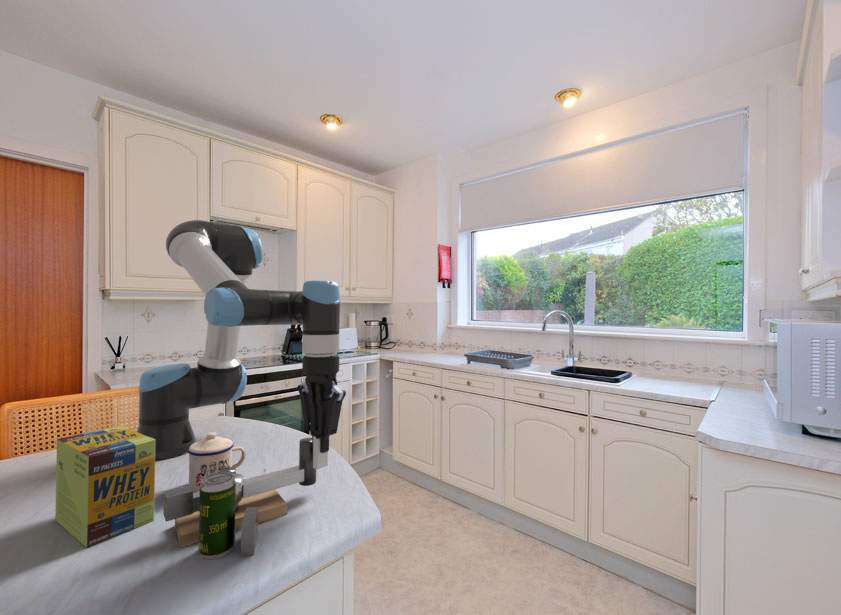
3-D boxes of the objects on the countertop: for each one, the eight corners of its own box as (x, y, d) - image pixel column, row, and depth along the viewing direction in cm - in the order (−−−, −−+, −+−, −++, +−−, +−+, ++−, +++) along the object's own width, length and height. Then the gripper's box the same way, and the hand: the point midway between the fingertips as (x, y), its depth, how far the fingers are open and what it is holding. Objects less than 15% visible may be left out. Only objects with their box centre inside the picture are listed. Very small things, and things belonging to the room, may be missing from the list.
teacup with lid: (192, 498, 82) (193, 443, 82) (183, 483, 89) (184, 432, 89) (251, 482, 90) (252, 431, 90) (239, 469, 97) (239, 422, 97)
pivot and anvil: (213, 519, 74) (214, 469, 74) (244, 511, 77) (244, 462, 77) (231, 562, 62) (232, 502, 62) (267, 550, 65) (268, 492, 65)
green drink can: (226, 536, 69) (227, 469, 69) (240, 549, 65) (241, 478, 65) (193, 550, 65) (194, 478, 65) (206, 565, 61) (207, 489, 61)
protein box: (86, 549, 65) (87, 456, 65) (54, 520, 73) (55, 438, 73) (155, 520, 74) (157, 438, 74) (120, 498, 82) (121, 424, 82)
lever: (166, 530, 65) (167, 477, 65) (162, 517, 69) (163, 466, 69) (320, 484, 83) (321, 442, 83) (310, 475, 87) (310, 435, 87)
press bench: (174, 525, 72) (175, 514, 72) (274, 497, 83) (274, 488, 83) (180, 547, 66) (180, 535, 66) (286, 513, 77) (287, 503, 77)
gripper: (355, 355, 81) (355, 468, 81) (315, 350, 88) (314, 454, 88) (327, 358, 75) (326, 481, 75) (287, 353, 82) (286, 464, 82)
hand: (320, 466), depth 82 cm, fingers closed
